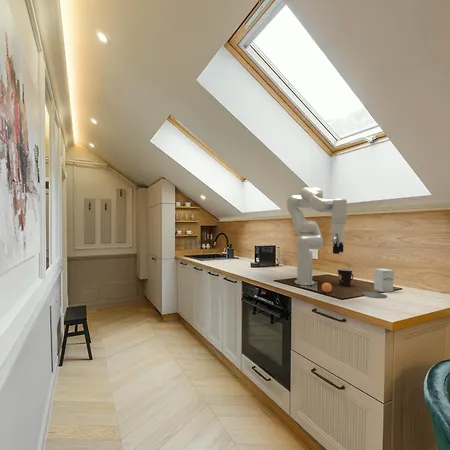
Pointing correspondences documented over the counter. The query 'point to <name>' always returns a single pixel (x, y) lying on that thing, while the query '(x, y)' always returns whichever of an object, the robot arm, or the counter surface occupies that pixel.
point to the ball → (326, 287)
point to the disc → (374, 295)
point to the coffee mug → (345, 277)
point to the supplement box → (383, 280)
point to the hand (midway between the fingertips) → (338, 252)
